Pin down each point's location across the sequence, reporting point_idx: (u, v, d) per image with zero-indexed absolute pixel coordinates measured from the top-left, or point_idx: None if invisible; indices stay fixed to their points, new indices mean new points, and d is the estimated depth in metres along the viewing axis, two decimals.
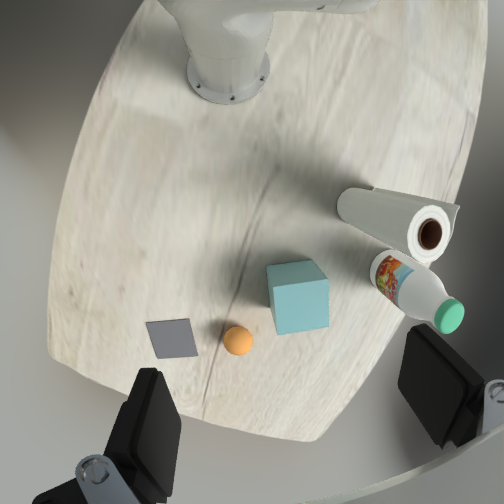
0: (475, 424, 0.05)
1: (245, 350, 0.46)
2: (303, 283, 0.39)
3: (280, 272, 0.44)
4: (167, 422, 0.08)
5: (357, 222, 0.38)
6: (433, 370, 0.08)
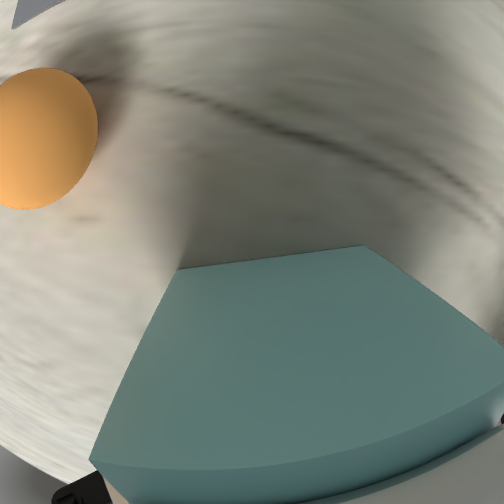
0: None
1: None
2: None
3: None
4: None
5: None
6: None
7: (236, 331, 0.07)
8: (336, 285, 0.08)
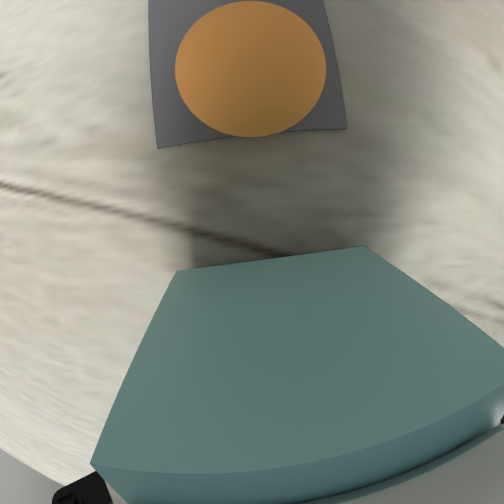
0: None
1: None
2: None
3: None
4: None
5: None
6: None
7: (236, 333, 0.07)
8: (336, 286, 0.08)
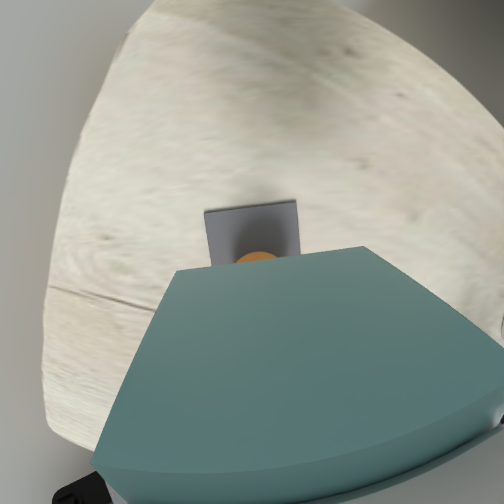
0: None
1: None
2: None
3: None
4: None
5: None
6: None
7: (236, 333, 0.07)
8: (336, 286, 0.08)
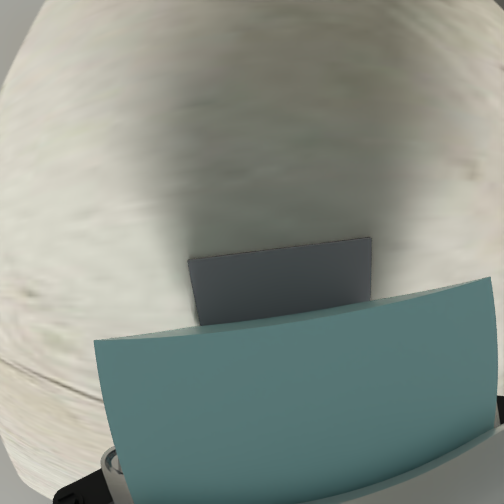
0: None
1: None
2: None
3: None
4: None
5: None
6: None
7: (238, 324, 0.08)
8: None
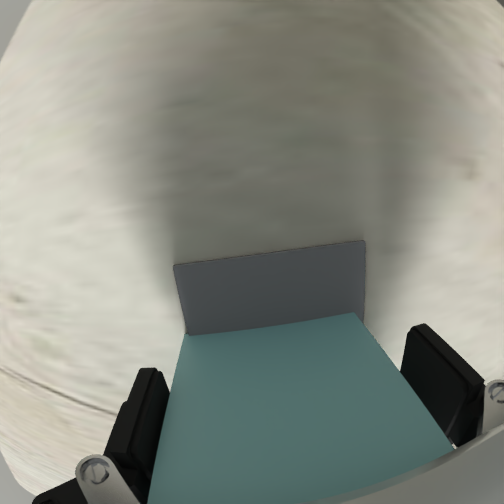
0: (475, 424, 0.05)
1: None
2: None
3: None
4: None
5: None
6: (433, 370, 0.08)
7: (239, 413, 0.08)
8: (322, 365, 0.09)
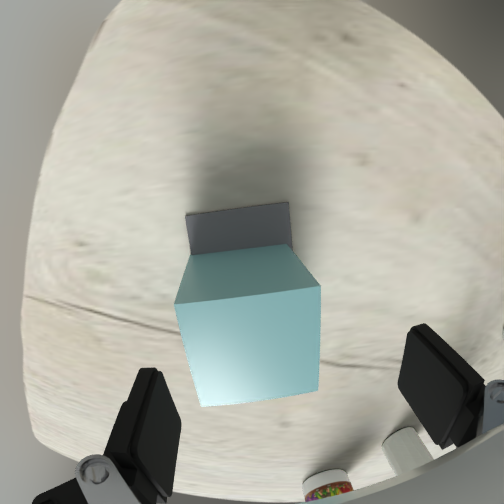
0: (475, 424, 0.05)
1: None
2: (317, 349, 0.16)
3: None
4: (167, 422, 0.08)
5: None
6: (433, 370, 0.08)
7: (219, 274, 0.18)
8: (261, 260, 0.20)
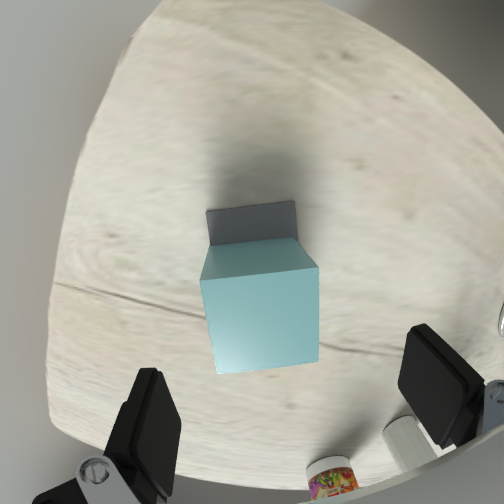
0: (475, 424, 0.05)
1: None
2: (317, 322, 0.20)
3: None
4: (167, 422, 0.08)
5: (416, 454, 0.29)
6: (433, 370, 0.08)
7: (235, 259, 0.22)
8: (271, 249, 0.24)
